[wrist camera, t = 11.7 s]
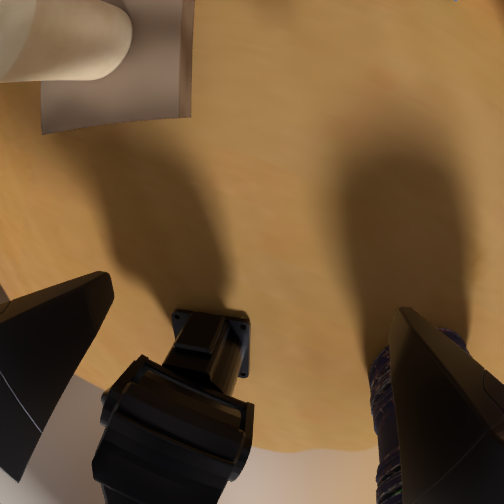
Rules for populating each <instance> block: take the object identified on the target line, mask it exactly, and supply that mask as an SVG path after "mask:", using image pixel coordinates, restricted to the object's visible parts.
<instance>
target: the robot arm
mask: <svg viewBox="0 0 504 504" xmlns="http://www.w3.org/2000/svg"><path fill="white" fill-rule="evenodd" d="M113 300H114V291H113V286H112V281H111V277H110V275H109V273H107V272H102V271H96V272H93V273H90V274H87V275H84V276H81V277H78V278H75V279H72V280H69V281H66V282H63V283H60V284H57V285H54V286H51V287H48V288H45V289H42V290H39V291H37V292H34V293H31V294H28V295H25V296H22V297H19V298H16V299H14V300H12V301H8V302H5V303H2V304H0V469H1V470H2V471H3V472H5V473H6V474H7V475H8V476H10V477H11V478H12V479H13V480H15V481H16V482H17V483H19V481H20V480H21V478H22V475H23V473H24V471H25V468H26V466H27V464H28V462H29V460H30V458H31V455H32V453H33V451H34V449H35V447H36V445H37V443H38V441H39V438H40V436H41V434H42V432H43V430H44V428H45V426H46V424H47V422H48V420H49V418H50V416H51V414H52V412H53V410H54V409H55V407H56V405H57V403H58V401H59V399H60V397H61V395H62V394H63V392H64V390H65V388H66V386H67V385H68V383H69V381H70V379H71V377H72V376H73V374H74V372H75V370H76V369H77V367H78V365H79V364H80V362H81V360H82V358H83V357H84V355H85V353H86V352H87V350H88V348H89V347H90V345H91V343H92V342H93V340H94V338H95V337H96V335H97V333H98V331H99V329H100V327H101V325H102V323H103V321H104V319H105V317H106V315H107V313H108V311H109V309H110V307H111V305H112V303H113ZM176 314H177V315H179V316H180V317H179V316H177V315H176ZM172 322H173V328H174V335H175V342H174V344H173V346H172V348H171V350H170V351H169V353H168V355H167V357H166V358H165V360H164V362H163V364H162V366H161V365H159V364H157V363H155V362H153V361H151V360H149V359H148V357H146V356H144V355H141V356H140V357H139V358H138V359H137V360H136V361H135V360H134V361H133V363H132V364H131V365H130V366H129V367H128V368H127V369H126V371H125V372H124V373H123V374H122V375H121V376H120V377H119V379H118V380H117V381H116V382H115V383H114V384H113V385H112V386H111V387H110V388H109V389H107V390H106V391H105V392H104V393H103V394H102V396H101V401H102V404H103V409H102V414H101V418H100V424H101V425H103V426H104V427H106V428H105V430H104V433H103V435H102V438H101V440H100V443H99V445H98V447H97V450H96V453H95V456H94V458H93V460H92V471H93V478H94V480H95V481H97V482H99V483H101V487H102V491H103V494H104V498H105V504H217V502H218V499H219V498H220V496H221V494H222V492H223V490H224V488H225V486H226V484H227V481H231V482H232V481H234V480H235V479H236V478H237V477H238V476H239V475H240V473H241V471H242V470H243V468H244V466H245V464H246V461H247V459H248V456H249V453H250V449H251V445H252V437H253V420H254V404H252V403H249V402H247V403H246V402H243V401H241V400H238V399H236V398H233V397H232V394H233V391H234V387H235V384H236V381H237V377H240V378H247V377H248V375H249V366H250V330H251V324H250V322H249V321H248V320H246V319H241V318H233V317H226V316H219V315H213V314H206V313H199V312H193V311H187V310H181V309H175V310H174V311H173V313H172ZM242 325H245V327H244V326H242ZM389 349H390V368H391V383H392V390H393V397H394V404H395V411H396V419H397V428H398V437H399V448H400V460H401V474H402V495H403V504H504V385H503V384H502V383H501V382H500V381H499V380H498V379H496V378H495V377H494V376H493V375H492V374H491V373H489V372H488V371H487V370H484V367H482V366H481V365H480V364H479V363H478V362H477V361H475V360H474V359H473V358H472V357H471V356H470V355H468V354H467V353H466V352H465V351H464V350H462V349H461V348H460V347H459V346H458V345H456V344H455V343H454V342H453V341H452V340H450V339H449V338H448V337H447V336H446V335H444V334H443V333H442V332H441V331H439V330H438V329H437V328H436V327H435V326H433V325H432V324H431V323H430V322H428V321H427V320H426V319H425V318H423V317H422V316H421V315H420V314H418V313H417V312H416V311H414V310H413V309H412V308H410V307H398V308H397V309H396V311H395V314H394V317H393V320H392V323H391V326H390V330H389ZM242 372H243V373H242Z"/></svg>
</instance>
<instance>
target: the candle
mask: <svg viewBox="0 0 504 504" xmlns="http://www.w3.org/2000/svg"><path fill="white" fill-rule="evenodd" d="M132 37H133V27H132V22H131V19H130V18H129V16H128V15H127V13H126V12H124V11H123V10H122V9H120V8H118V7H116V6H114V5H112V4H109V3H106V2H104V1H101V0H0V83H8V82H22V81H45V80H96V79H100V78H103V77H105V76H107V75H108V74H110V73H111V72H113V71H114V70H115V69H116V68H117V67H118V66H119V65H120V64H121V62H122V61H123V60H124V58H125V56H126V55H127V53H128V51H129V48H130V45H131V42H132Z"/></svg>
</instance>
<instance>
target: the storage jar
mask: <svg viewBox="0 0 504 504" xmlns="http://www.w3.org/2000/svg"><path fill="white" fill-rule="evenodd" d="M437 329H438V330H439V331H441V332H442V333H443V334H444V335H446V336H447V337H448V338H449V339H450V340H452V341H453V342H454V343H455V344H456V345H458V346H459V347H460V348H461V349H462V350H464V351H465V352H466V353H467V354H468V355H470V354H469V352H468V350H467V348H466V345H465V343H464V341H463V340H462V338H461V337H460V336H459V335H458V334H457V333H455V332H454V331H452V330H449V329H445V328H437ZM470 356H471V355H470ZM471 357H472V356H471ZM369 384H370V389H371V391H370V392H371V397H370V404H371V414H372V417H373V421H374V430H375V433H376V434H377V436H378V447H379V460H380V464H379V466H378V469H377V475H376V482H377V486H378V488H377V490H376V501H377V502H376V503H377V504H403V495H402V474H401V460H400V448H399V437H398V428H397V419H396V411H395V404H394V397H393V390H392V383H391V368H390V349H389V345H388V346H387V347H386V348H385V349H384V350H383V351H382V352H381V353H380V354H379V355H378V356H377V358H376V359H375V360H374V362H373V364H372V366H371V369H370V372H369Z"/></svg>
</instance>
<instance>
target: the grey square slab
mask: <svg viewBox="0 0 504 504" xmlns="http://www.w3.org/2000/svg"><path fill="white" fill-rule="evenodd" d="M101 1H104V2H106V3H109V4H112V5H114V6H116V7H118V8H120V9H122V10H123V11H124V12H126V13H127V15H128V16H129V18H130V19H131V22H132V27H133V37H132V42H131V45H130V48H129V51H128V53H127V55H126V56H125V58H124V60H123V61H122V62H121V64H120V65H119V66H118V67H117V68H116V69H115V70H114V71H113V72H111V73H110V74H108V75H107V76H105V77H103V78H100V79H96V80H45V81H41V128H42V135H45V134H50V133H55V132H60V131H66V130H72V129H78V128H84V127H91V126H98V125H106V124H114V123H122V122H132V121H143V120H155V119H171V118H187V117H191V77H192V44H193V23H194V5H195V0H101Z"/></svg>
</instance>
